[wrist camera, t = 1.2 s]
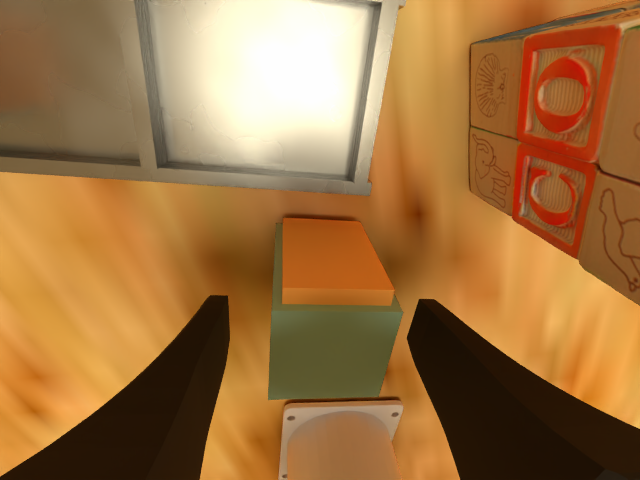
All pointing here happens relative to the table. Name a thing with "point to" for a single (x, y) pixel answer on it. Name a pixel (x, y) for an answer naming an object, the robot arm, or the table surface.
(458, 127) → the table surface
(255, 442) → the table surface
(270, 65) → the rail
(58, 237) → the table surface
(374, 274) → the toy block
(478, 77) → the stack of blocks
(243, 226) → the table surface
